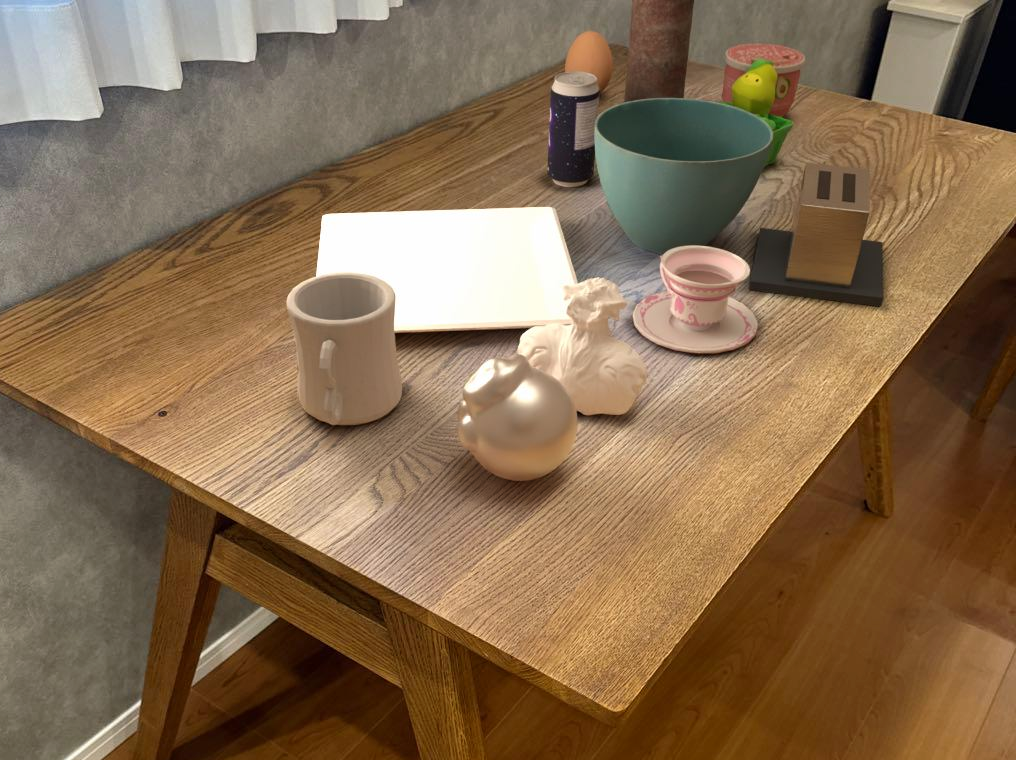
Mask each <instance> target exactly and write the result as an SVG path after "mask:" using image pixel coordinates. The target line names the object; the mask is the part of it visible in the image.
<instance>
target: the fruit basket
mask: <svg viewBox="0 0 1016 760" xmlns="http://www.w3.org/2000/svg"><path fill="white" fill-rule="evenodd" d="M773 64H774V63H773V62H772V61H766V60H764V59H758V60H756V61H755V62H754V63H753V64H752V65H751V66H750V68H749V69H747V70H746V73H745V74H744V75H742V76H741V77H739V78H738V79H737V80H736V81H735V83H734V84H733V85H732V99H733V103H729V102H723V101H719V102H718V103H722V104H726V105H730V106H734V107H737V108H740V109H743V110H745V111H748V112H750V113H752V114H754V115H756V116H758V117H759V118H761V119H762V120H764V121H765V122H766V123H767V124H768V125H769V126H770V127H771V129H772V131H773V140H772V144H771V148H770V151H769V155H768V158H767V160H766V163H765V166H764V168H765V167H768V166H769V165H771V164H774V163H775V162H776V160H777V157H778V155H779V153H780V151H781V149H782V147H783V144H784V142H785V140H786V138H787V136H788V133H790V132H791V130H792V127H793V125H794V122H793V121H792V120H790V119H786V118H784V117H783V118H781V117H778V116H775V115H772V114H769V111H770V109H771V107H772V105H773V102H774V98H775V85H776V81H777V73H776V71H775V69H774V67H773Z"/></svg>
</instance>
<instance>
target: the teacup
mask: <svg viewBox="0 0 1016 760" xmlns="http://www.w3.org/2000/svg"><path fill="white" fill-rule="evenodd" d="M659 259H660V264H659V272H660V276H661V279H662V282H663V284H664V287H665V288H666V290H664V291H658V292H657V293H654V294H651V295H649V296H646V297H644V298H643V299H642V300H641V301H639V302H638V303H637V304H636V305H635V308H634V310H633V312H632V316H631V317H632V321H633V325H634V328H635V329H636V330H637V331H638V332H639V333H640V334H641V335H642V337H644V338H646V339H647V340H649V341H651V342H652V343H654V344H656V345H659V346H661V347H664V348H667V349H671V350H673V351H677V352H685V353H690V354H718V353H723V352H728V351H729V352H730V351H734V350H736V349H738V348H741V347H743V346H745V345H747V344H749V342H751V341H752V340H753V338H755V337H756V334H757V330H758V326H759V322H758V320H757V316H756V315H755V313H754V312H753V310H751V309H750V308H749V307H748V306H746V305H745V304H744V303H742V302H741V301H738V300H736V299H735V298H733V297H731V296H732V294H733V293H734V292H735V291H736V289H737V287H739V286H740V285H741V284H742V283H743V282H744V281H745V280H746V279H747V278H748V277H749V276H750V275H751V267H750V265H749V264H748V263H747V261H746V260H744V259H743V258H742V257H740V256H738V255H737V254H735V253H733V252H730V251H728V250H725V249H722V248H717V247H713V246H708V245H706V246H697V245H690V246H681V247H676V248H673V249H670V250H668V251H667V252H665V253H664V254H660V255H659Z"/></svg>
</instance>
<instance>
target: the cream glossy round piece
mask: <svg viewBox="0 0 1016 760" xmlns="http://www.w3.org/2000/svg"><path fill="white" fill-rule="evenodd" d="M462 398H463V399H462V400H461V401H460V403H459V405H458V407H457V419H458V425H457V426H458V427H457V436H458V440H459V443H460V444H461V446H462V447H463V448H464V449H466V450H467V451H469V452H470V453H471V454H472V456H473V457H474V458H475V459H476V460H477V462H478V463H479V464H480V465H481V466H482V468H484V469H485V470H486V471H487V472H489V473H490V474H492V475H495V476H497V477H499V478H501V479H505V480H509V481H516V482H525V481H531V480H536V479H539V478H542V477H545V476H546V475H548V474H550V473H551V472H553V471H554V470H556V469H557V468H558V467H559V466H560V465H562V464H563V462H565V460H566V459H567V457H568V456H569V454H570V452H571V451H572V449H573V447H574V445H575V442H576V438H577V433H578V422H579V421H578V412H577V411H576V408H575V405H574V402H573V400H572V398H571V396H570V394H569V392H568V391H567V390H566V388H565V387H564V386H563V385H562V384H561V383H560V382H559V381H558V380H557V379H556V378H554V377H553V376H552V375H550V374H548V373H546V372H544V371H542V370H539V369H536V368H534V367H533V366H531V365H530V363H529V361H528V359H527V358H526V357H525V356H523V355H521V354H518V353H516V354H512V355H506V356H497V357H493V358H490V359H488V360H486V361H485V362H484V363H483V364H482V365H480V367H479V368H478V369H477V370H476V371H475V373H473V374H472V375H471V377H470V378H469V379H468V381H466V383H465V385H464V386H463V388H462Z"/></svg>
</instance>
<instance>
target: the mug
mask: <svg viewBox="0 0 1016 760" xmlns="http://www.w3.org/2000/svg"><path fill="white" fill-rule="evenodd" d="M395 300H396V294H395V292H394V290H393V288H392V287H391V286H390V285H389V284H388V283H387V282H385V281H384V280H382V279H380V278H378V277H375V276H372V275H368V274H364V273H355V272H337V273H330V274H323V275H320V276H313V277H310V278H307V279H305V280H303V281H301V282H300V283H298V284H297V285H296V286H294V287H293V288H292V289H291V290H290V292H289V293H288V295H287V297H286V302H285V305H286V310H287V313H288V317H289V320H290V323H291V328H292V332H293V336H294V344H295V352H296V353H295V354H296V361H297V363H296V364H297V381H296V382H297V383H296V384H297V397H298V400H299V403H300V406H301V408H302V409H303V410H304V411H305V412H306V414H309V415H310V416H311V417H314V418H315V419H316V420H318V421H320V422H324V423H327V424H330V425H332V426H337V425H338V426H356V425H364V424H367V423H370V422H374V421H376V420H379V419H381V418H383V417H384V416H386V415H388V414H389V413H390V412H391V411H393V409H395V408H396V407H397V405H398V404H399V402H400V401H401V399H402V396H403V381H402V375H401V370H400V366H399V365H400V364H399V361H398V355H397V345H396V333H394V317H395Z"/></svg>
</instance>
